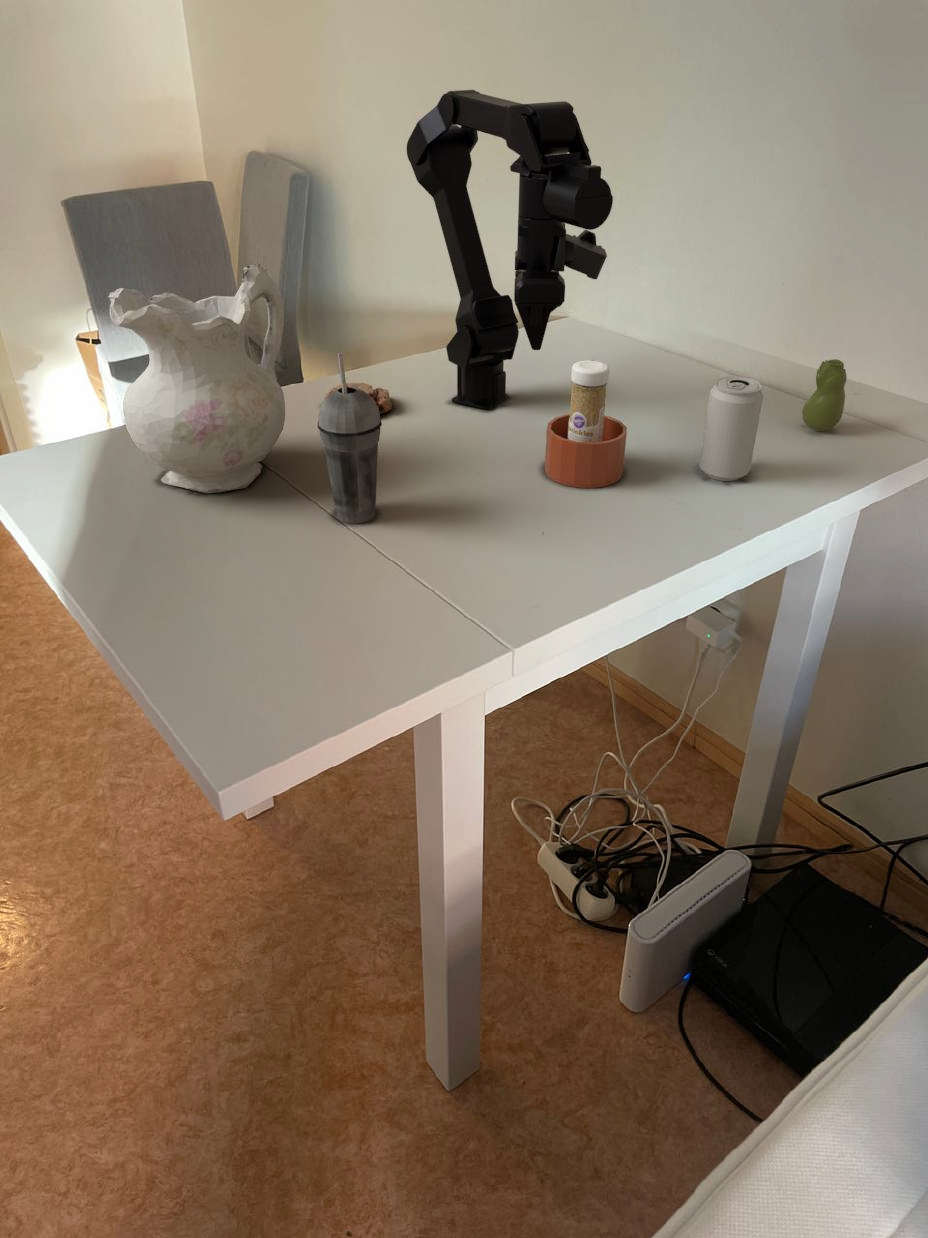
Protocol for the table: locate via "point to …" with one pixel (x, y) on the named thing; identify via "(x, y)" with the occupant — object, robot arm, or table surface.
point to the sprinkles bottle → (587, 401)
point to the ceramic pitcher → (204, 384)
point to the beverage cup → (351, 449)
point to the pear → (826, 397)
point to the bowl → (585, 455)
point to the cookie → (371, 395)
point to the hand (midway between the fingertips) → (535, 338)
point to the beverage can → (731, 428)
